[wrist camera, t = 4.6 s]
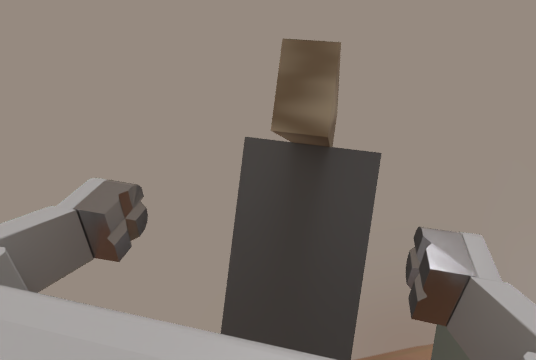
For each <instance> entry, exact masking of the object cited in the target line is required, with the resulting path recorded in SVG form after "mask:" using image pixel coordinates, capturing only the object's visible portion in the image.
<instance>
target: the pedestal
mask: <svg viewBox="0 0 536 360" xmlns="http://www.w3.org/2000/svg"><path fill="white" fill-rule="evenodd" d="M380 159H381V153H376V152H368V151H359V150H351V149H343V148H334V147H326V146H318V145H309V144H301V143H293V142H284V141H275V140H267V139H259V138H250V137H245V142H244V150H243V158H242V166H241V175H240V183H239V190H238V199H237V207H236V215H235V223H234V231H233V239H232V248H231V255H230V263H229V272H228V280H227V288H226V295H225V304H224V312H223V320H222V328H221V334H224V335H228V336H233V337H237V338H242V339H246V340H251V341H255V342H260V343H264V344H269V345H273V346H278V347H282V348H287V349H291V350H296V351H300V352H305V353H309V354H314V355H318V356H323V357H327V358H332V359H337V360H351V354H352V347H353V340H354V334H355V327H356V320H357V314H358V307H359V299H360V294H361V287H362V280H363V273H364V267H365V260H366V253H367V246H368V240H369V233H370V226H371V220H372V213H373V206H374V199H375V193H376V186H377V179H378V173H379V166H380Z"/></svg>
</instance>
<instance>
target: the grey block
mask: <svg viewBox="0 0 536 360" xmlns="http://www.w3.org/2000/svg"><path fill="white" fill-rule="evenodd" d="M431 360H470V359H469V358H468V356H467V355H466V354H465V352H464V351H463V350H462V348H461V347H460V346H459V344H458V343H457V342H456V340H455V339H454V338H453V336H452V335H451V334H450V332H449V331H448V330H447V326H442V325H438V324H437V327H436V333H435V339H434V345H433V351H432V357H431Z"/></svg>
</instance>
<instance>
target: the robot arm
mask: <svg viewBox="0 0 536 360" xmlns="http://www.w3.org/2000/svg"><path fill="white" fill-rule="evenodd" d="M143 197H144V196H143V192H142V189H141V187H140V186H139V185H137V184H131V183H125V182H119V181H113V180H106V179H100V178H91V179H89V180H88V181H86V182H85V183H84V184H83V185H82V186H80V187H79V188H78V189H77V190H75V191H74V192H73V193H72V194H70V195H69V196H68V197H67V198H66V199H64V200H63V201H62V202H61V203H59V204H58V205H57V206H56V207H55V206H49V207H46V208H44V209H41V210H38V211H35V212H32V213H29V214H27V215H24V216H21V217H18V218H15V219H12V220H9V221H6V222H4V223H0V360H337V359H332V358H327V357H323V356H318V355H314V354H309V353H305V352H300V351H296V350H291V349H287V348H282V347H278V346H273V345H269V344H264V343H260V342H255V341H251V340H246V339H242V338H237V337H233V336H228V335H224V334H219V333H215V332H210V331H205V330H201V329H197V328H192V327H187V326H183V325H179V324H174V323H170V322H165V321H161V320H156V319H152V318H147V317H142V316H138V315H134V314H129V313H125V312H120V311H115V310H111V309H107V308H102V307H98V306H93V305H88V304H84V303H79V302H75V301H71V300H66V299H62V298H57V297H52V296H48V295H43V294H39V293H38V292H40V291H41V290H43V289H45V288H46V287H48V286H50V285H51V284H53V283H55V282H56V281H58V280H60V279H61V278H63V277H65V276H66V275H68V274H70V273H71V272H73V271H75V270H76V269H78V268H80V267H81V266H83V265H85V264H86V263H88V262H90V261H91V260H93V258H98V259H104V260H110V261H116V262H120V260H121V259H122V258H123V257H124V255H125V254H126V253H127V252H128V250H129V249H130V248H131V240H133V239H135V238H138V237H139V236H140V235H141V234H142V232H143V231H144V229H145V227H146V223H147V216H148V214H147V209H146V207H145V206H144V205H143V204H142V202H141V200H142V198H143ZM414 242H415V247H414V248H412V249H411V250H410V252H409V255H408V258H407V264H406V282H407V285H408V286H409V287H410V288H411V292H410V295H409V305H410V312H411V318H412V319H415V320H420V321H424V322H429V323H433V324H438V325H442V326H447V330H448V331H449V332H450V334H451V335H452V336H453V338H454V339H455V340H456V342H457V343H458V344H459V346H460V347H461V348H462V350H463V351H464V352H465V354H466V355H467V356H468V358H469V359H470V360H536V305H535V304H534V303H533V302H531V301H530V300H529V299H528V298H527V297H526V296H524V295H523V294H522V293H521V292H520V291H518V290H517V289H516V288H515V287H513V286H512V285H511V284H510V283H506V282H502V279H501V277H500V275H499V273H498V270H497V268H496V266H495V263H494V261H493V259H492V257H491V254H490V252H489V249H488V247H487V245H486V243H485V240H484V238H483V237H482V236H481V235H480V234H471V233H464V232H459V233H457V232H451V231H445V230H438V229H431V228H424V227H418V229H417V230H416V233H415V236H414Z"/></svg>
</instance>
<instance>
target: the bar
mask: <svg viewBox="0 0 536 360" xmlns="http://www.w3.org/2000/svg"><path fill="white" fill-rule="evenodd" d="M340 50H341V43H340V42H326V41H311V40H297V39H283V41H282V48H281V57H280V63H279V72H278V79H277V87H276V95H275V103H274V110H273V118H272V126H271V131H273V132H275V133H276V134H278V135H280V136H282V137H283V138H285V139H287V140H289V141H290V142H293V143H301V144H309V145H318V146H326V147H332V146H333V138H334V132H335V124H336V117H337V106H338V86H339V67H340Z"/></svg>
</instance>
